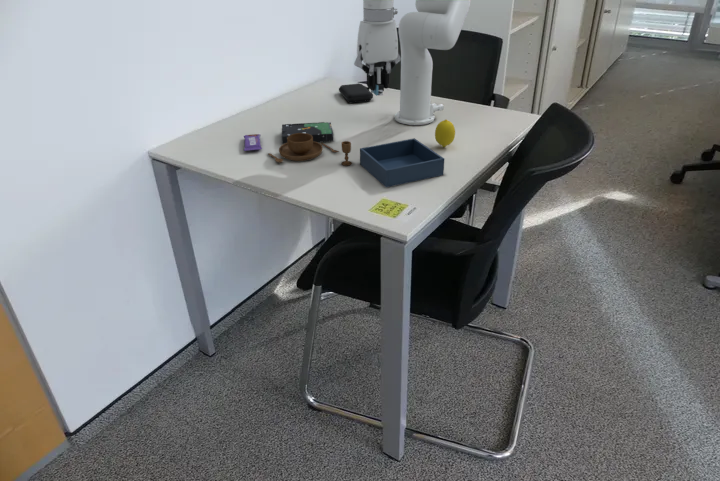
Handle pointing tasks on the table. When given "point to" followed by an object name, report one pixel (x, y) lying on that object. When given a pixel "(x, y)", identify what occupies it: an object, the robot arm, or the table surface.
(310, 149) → the place setting
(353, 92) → the carrying case
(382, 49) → the robot arm
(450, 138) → the lemon
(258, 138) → the snack package
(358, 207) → the table surface
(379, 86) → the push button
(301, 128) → the disk drive
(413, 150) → the bin
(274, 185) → the table surface
